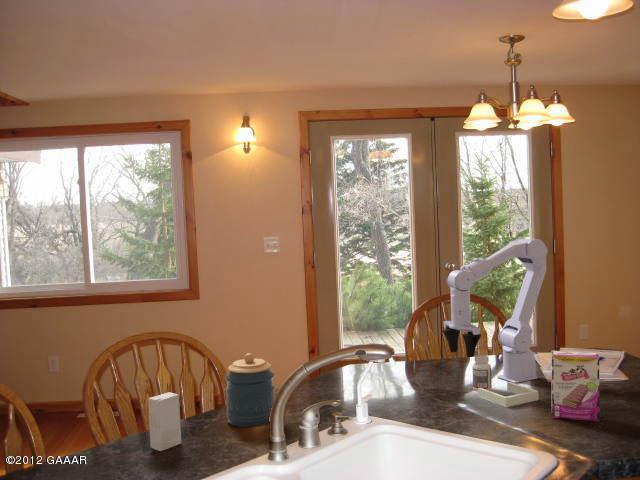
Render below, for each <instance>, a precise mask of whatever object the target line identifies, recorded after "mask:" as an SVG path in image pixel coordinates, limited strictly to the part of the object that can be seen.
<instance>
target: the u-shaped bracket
mask: <svg viewBox="0 0 640 480" xmlns="http://www.w3.org/2000/svg"><path fill="white" fill-rule="evenodd" d="M506 387H507V388H506V389H507V390H506V391H507V392H510V393H513V394H511V395H508V396H504V395H502V394H500V393H497V392H493V391H492V390H490V391H488V390H485V389H483V388H478V391H477V397H478V398H479V399H482V400H485V401H487V402H490V403H492V404H495V405H498V406H501V407H503V408H509V407H510V408H511V407H514V406H519V405H522V404H528V403H532V402H537V401H539V397H540V396H539V391H538V390H536V389H533V388H531V387H526V386H525V385H520V384H519V383H513V382H510V381H507V382H506Z"/></svg>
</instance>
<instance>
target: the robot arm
mask: <svg viewBox="0 0 640 480" xmlns="http://www.w3.org/2000/svg"><path fill="white" fill-rule="evenodd" d="M548 251H549V250H548V248H547V247H546V244H545V242H544V241H543V240H541V239H539V238H534V239H532V238H522V237H519V238H516V239H515V240H513V241H509V242H508V244H506V245H505V246H504V247H502V248H500V249H499V250H497V251H495V252H494V253H493V254H491V255H490V256H488V257H486V258H483V257H475V258H473V259H472V262H470V263H468V264H467V265H462V266H461V267H460V269H457V270H455V269H454V270H453V271H451V272H450V273H449V275H448V277H447V279H445V280H446V284H447V286H448V287H449V289H450V292H449V293H450V311H451V312H450V314H451V315H450V317H451V320H445V321H444V320H443V328H444V329H443V330H442V333H443V334H444V337H445V338H446V339H445V340H446V341H447V344H448V347H449V351H450V353H453V354H454V353H458V349H459V338H460V337H459V336H460V333H461V332H465V333H464V334H461V335H462V338H463V341H464V344H465V353H466V357H467V358H475V353H476V348H477V345H478V342H479V340H480V339H481V337H482V333H481V327H478V326H476V325H474V324H472V321H471V319H472V318H471V316H472V315H471V295H470V294H471V291H470V289H472V288H473V285H474V284H475V283H476V282H479V281H480V280H482V279H484V278H485V277H487V276H489V275H490V274H491V272H492V270H493V268H496V267H497V266H499V265H501V264H503V263H505V262H507V261H509V260H511V259H513V258H516V259H518V261H520V262H521V263H522V264H523V266H524V268H525V270H526V273H525V275H524V278H523V282H522V285H521V288H520V290H519V293H518V297H517V300H516V302H515V305H514V309H513V313H512V315H511V317H510V318H508V319H507V320H506V321H505V323H504V325H503V327H502V328H501V329H500V331H499V332H498V337H497V339H498V341H499V342H498V343H499V344H500V345H501V346H502V347H501V348H502V366H503V368H502V369H503V370H502V373H503V374H501V375H497V378H498V379H502V380H504V381H507V382H512V383H515V384H519V383H523V382H527V381H532V380H537V379H538V376H536V356H535V353H534V352H533V350H531V349H530V348H531V346H532V343H533V342H532V341H533V340H532V334H533V329H532V326H531V325H530V322H531V319H532V315H533V312H534V309H535V308H536V304H537V300H538V298H539V295H540V291H541V288H542V285H543V282H544V280H545V276H546V273H547V267H548V266H547V255H548Z"/></svg>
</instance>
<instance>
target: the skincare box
mask: <svg viewBox="0 0 640 480" xmlns="http://www.w3.org/2000/svg"><path fill="white" fill-rule="evenodd" d="M147 401H148V402H147V403H148V418H149V419H148V421H149V437H150V439H149V442H150V443H149V444H150V448H151V449H153V450H155V451H159V452H162V451H165V450H167V449H170V448H173V447H175V446H177V445H180V444H182V433H181V409H180V395H179V394H177V393H174V392H169V391H168V392H165V393H161V394H159V395H155V396H152V397H151V396H150V397H149V398H148V399H147Z"/></svg>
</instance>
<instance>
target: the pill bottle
mask: <svg viewBox="0 0 640 480" xmlns="http://www.w3.org/2000/svg"><path fill="white" fill-rule="evenodd" d="M489 361H490V360H489V356H488V355H483V354H482V355H481V354H478V355H474V362H475V363H473V365H472V389H473V390H474V391H476V392H478V388H483V389H485V390H488V391H492V389H493V388H492V386H493V385H492V384H493V383H492V366H491V364H490V363H489Z"/></svg>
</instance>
